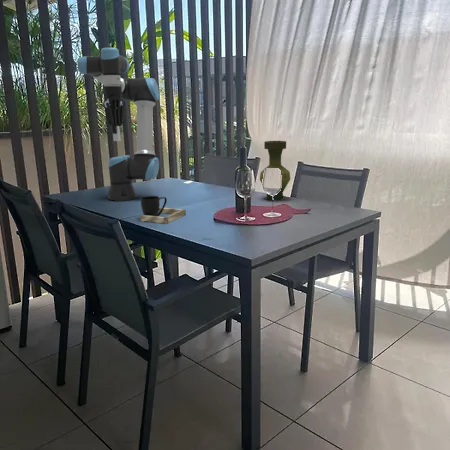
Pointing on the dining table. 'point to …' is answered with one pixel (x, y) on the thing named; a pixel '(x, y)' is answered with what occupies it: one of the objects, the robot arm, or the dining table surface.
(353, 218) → the dining table surface
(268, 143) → the vase
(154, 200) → the mug
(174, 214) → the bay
